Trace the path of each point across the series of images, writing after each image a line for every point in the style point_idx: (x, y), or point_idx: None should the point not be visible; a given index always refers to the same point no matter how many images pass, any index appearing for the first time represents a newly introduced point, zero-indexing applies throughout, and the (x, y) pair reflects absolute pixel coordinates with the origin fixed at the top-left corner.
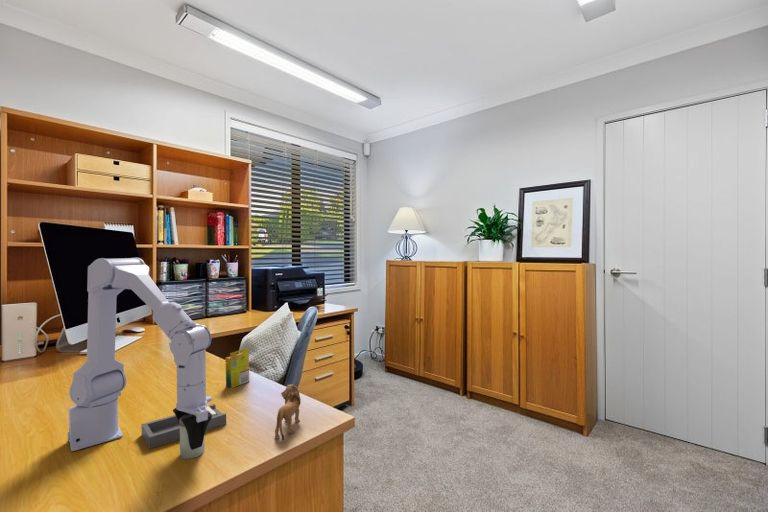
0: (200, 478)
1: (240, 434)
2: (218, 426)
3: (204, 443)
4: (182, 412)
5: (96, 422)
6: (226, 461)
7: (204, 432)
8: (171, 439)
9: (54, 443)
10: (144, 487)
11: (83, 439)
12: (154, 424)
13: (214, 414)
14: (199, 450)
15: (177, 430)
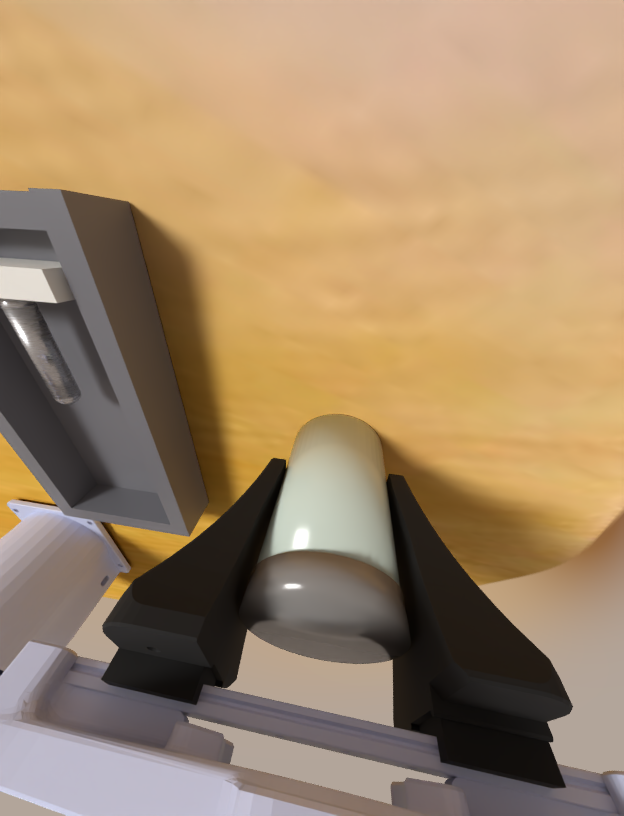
0: (532, 498)
1: (348, 193)
2: (144, 263)
3: (359, 440)
4: (235, 655)
5: (60, 605)
6: (543, 403)
7: (440, 540)
8: (192, 464)
9: None
10: None
11: (102, 574)
12: (67, 484)
13: (53, 285)
14: (383, 460)
15: (170, 468)
